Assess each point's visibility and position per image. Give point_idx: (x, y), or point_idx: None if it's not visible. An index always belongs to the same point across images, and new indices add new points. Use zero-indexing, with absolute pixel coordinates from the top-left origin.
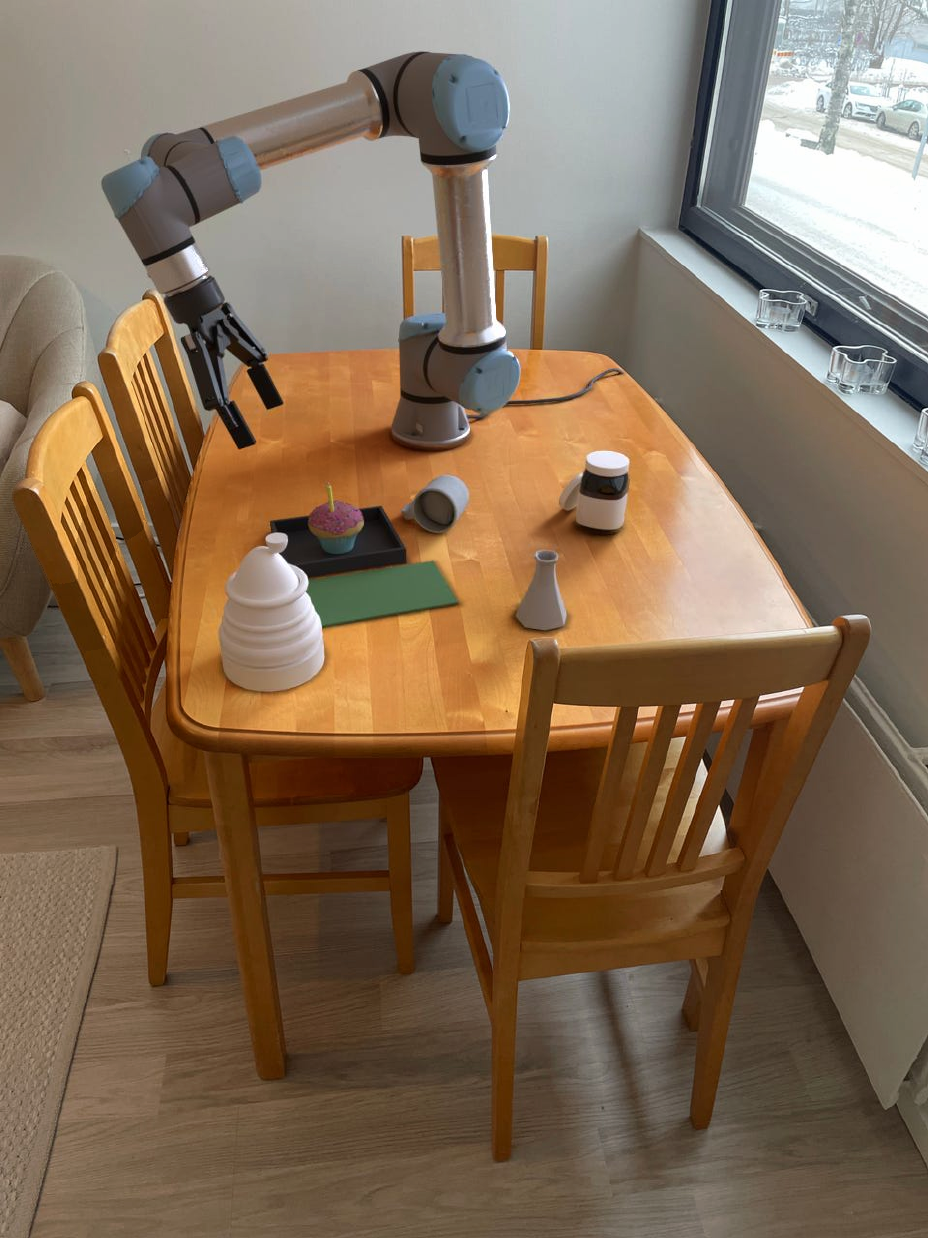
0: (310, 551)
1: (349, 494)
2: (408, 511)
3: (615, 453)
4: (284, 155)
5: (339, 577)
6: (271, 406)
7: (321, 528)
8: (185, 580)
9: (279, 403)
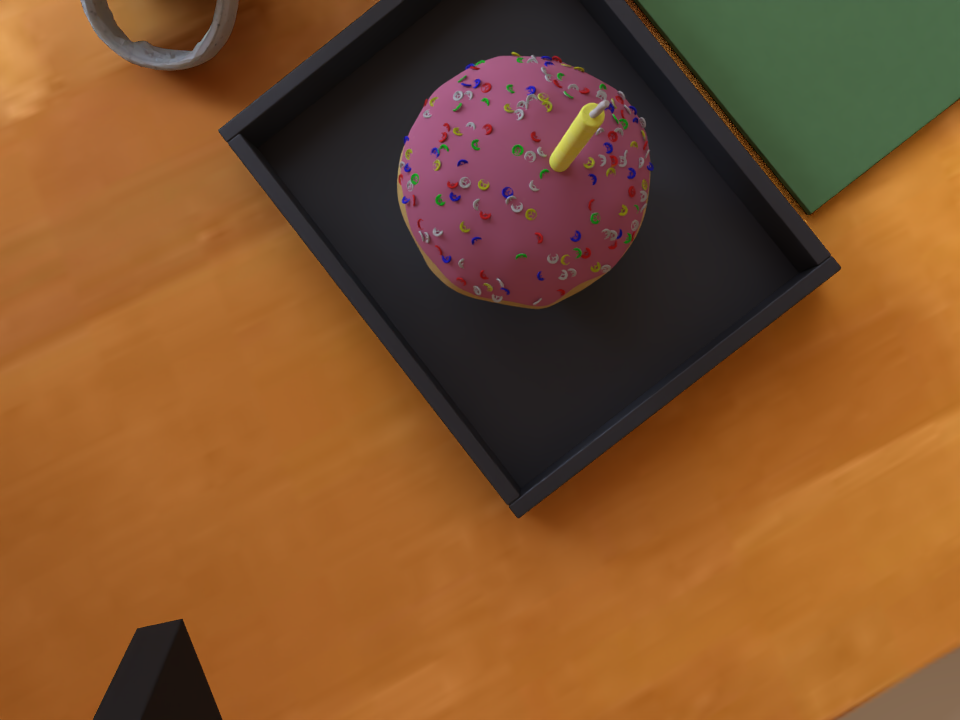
0: (596, 289)
1: (87, 366)
2: (224, 3)
3: None
4: None
5: (737, 95)
6: (211, 716)
7: (647, 186)
8: (955, 641)
9: (185, 647)
